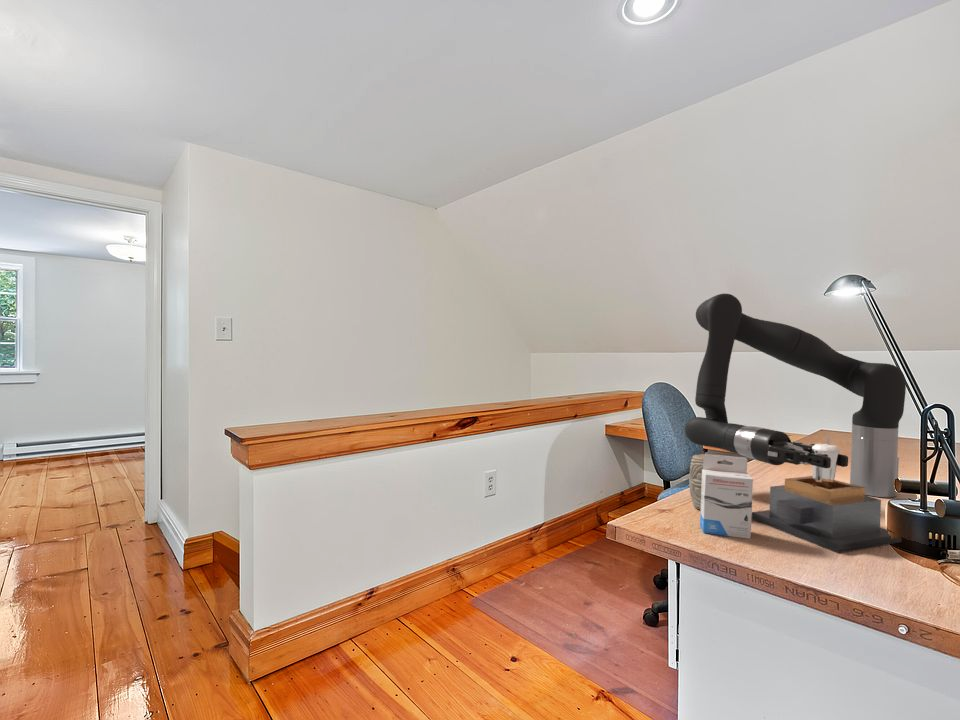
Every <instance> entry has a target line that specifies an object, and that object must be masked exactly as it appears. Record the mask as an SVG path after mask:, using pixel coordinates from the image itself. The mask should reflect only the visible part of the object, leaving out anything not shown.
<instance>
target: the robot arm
mask: <svg viewBox="0 0 960 720" xmlns="http://www.w3.org/2000/svg"><path fill="white" fill-rule="evenodd" d="M695 311H696V312H695V318H696V319H695V320H696V321H697V324H698V325H699V326H700V327H701V328H703V330H705V331H707V332H708V339H707V345H706V350H705V352H704V353H705V354H704V356H703V359H702V361H701V364H700V368H699V371H698V376H697V380H696V381H697V382H696V390H695V397H694V399H695V400H694V401H695V406H697V407H699V408H701V409H703V411H704V414H705V417H700V416H697V417H693V418H691V419H689V420H688V421H687V422H686V423H685V426H684V433H685V436H686V438H687V440H689V441H690V442H691V443H693V444H694V445H699V446H703V447H709V448H714V449H720V450H723V451H727V452H729V453H733V454H737V455H741V456H743V457H746V458H747V459H751V460H755V461H757V462H761V463H765V464H769V465H773V466H781V465H783V464H784V463H787V464H792V465H801V464H802V465H805V466H808V465H811V466H813V465H814V466H818V467H822V468H830V467H831V459H830V457H827V456H822V455H817V454H813V453H812V446H814V445H815V444H816V443H811V444H805V443H803V442H799V441H791V438H790V437H789V436H788V434H787V433H785V432H784V431H779V430H774V429H770V428H764V427H759V426H751V425H743V424H738V423H731V422H730V423H729V422H728V421H729V420H728V415H727V410H726V409H727V408H726V402H725V401H726V395H727V383H728V376H729V375H728V374H729V370H730V369H729V367H730V363H731V357H732V352H733V348H734V344H735V341H738V342H740V343H742V344H745V345H747V346H749V347H751V348H753V349H755V350H757V351H758V352H761V353H763V354H765V355H767V356H771V357H772V358H774V359H776V360H779V361H781V362H783V363H785V364H788V365H790V366H792V367H795V368H798V369H800V370H803V371H804V372H808V373H811V374H814V375H817V376H820V377H824V378H825V379H827V380H829V381H831V382H833V383H835V384H837V385H839V386H841V387H842V388H844V389H845V390H848V392H851V393H852V394H854V395H856V396H859V397H862V398H863V399H862V406H861V407H860V409H859V410H857V411H856V412H854V413H852V419H851V422H852V423H851V445H850V446H851V448H850V449H851V450H850V472H849V473H850V474H849V475H850V476H849V477H850V479H849V484H852V485H856V486H860V487H864V488H865V496H869V497H875V498H876V497H877V498H894V497H896V496H897V495H898V491H897V492H896V491H895V487H894V481H895V479H897V478H898V479H899V463H900V461H899V459H900V458H899V457H898V449H899V448H898V445H899V424H900V421H901V419H902V418H903V415H904V409H905V401H906V391H907V389H906V388H907V387H906V386H907V383H906V377H905V374H904V373H903V371H902V369H900V368H899V367H898V366H896V365H894V364H891V363H882V362H881V363H880V362H867V361H862V360H858V359H856V358H853V357H850V356H848V355H844V354H842V353H840V352H838V351H836V350H835V349H833V348H832V347H831V346H830V345H829V344H828V343H826V342H825V341H824V340H822V339H821V338H819V337H817V335H814V334H812V333H809V332H807V331H805V330H802V329H800V328H798V327H795V326H792V325H789V324H785V323H780V322H775V321H771V320H770V321H769V320H764V319H759V318H756V317H755V318H754V317H752V316H750V315H747V314H745V313H743V308H742V303H741V301H740V300H739V299H738V297H736V296H735V295H733V294H731V293H730V294H729V293H719V294H715V295H714V296H712V297H710V298H708V299H706V300H704V301H703V302H702V303H700V304H699V306H698V307H697V308H696V310H695ZM837 466H838V467H842V468H844V467H849V457H848V456H847V455H845V454H840V453H839V458H838V462H837Z"/></svg>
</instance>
